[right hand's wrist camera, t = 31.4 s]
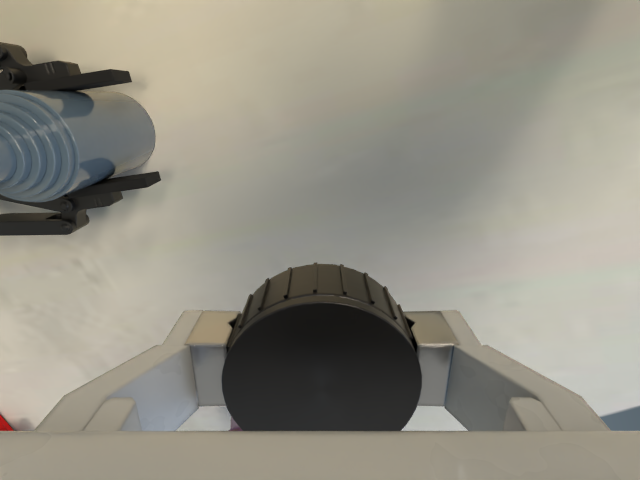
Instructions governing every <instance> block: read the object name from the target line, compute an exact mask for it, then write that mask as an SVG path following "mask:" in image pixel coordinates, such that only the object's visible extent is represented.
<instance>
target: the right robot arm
mask: <svg viewBox="0 0 640 480" xmlns="http://www.w3.org/2000/svg"><path fill="white" fill-rule="evenodd" d="M239 313H240V314H241V312H240V311H203V310H193V311H184V312H183V313H182V315H181V316H180V318H179V319H178V321H177V322H176V324H175V326H174V327H173V329H172V330H171V332H170V333H169V335H168V336H167V338H166V340H165V341H164V343H163V344H162V345H156V346H154V347H152V348H150V349H149V350H147V351H145V352H143V353H141V354H139V355H138V356H136V357H134V358H132V359H130V360H129V361H127V362H125V363H123V364H121V365H119V366H118V367H116V368H114V369H112V370H110V371H108V372H107V373H105V374H103V375H101V376H99V377H97V378H96V379H94V380H92V381H90V382H88V383H86V384H85V385H83V386H81V387H79V388H77V389H76V390H74V391H72V392H70V393H68V394H66V395H65V396H63V398H62V399H61V400H60V401H59V402H58V403H57V405H56V406H55V407H54V408H53V409H52V410H51V412H50V413H49V414H48V415H47V416H46V417H45V418H44V420H43V421H42V422H41V423H40V424H39V425H38V427H37V428H36V429H35V430H34V431H0V480H640V431H611V430H610V429H609V428H608V427H607V426H606V424H605V423H604V422H603V421H602V420H601V419H600V417H599V416H598V415H597V414H596V413H595V412H594V411H593V409H592V408H591V407H590V406H589V405H588V404H587V402H586V401H585V400H584V399H583V398H582V397H581V396H580V395H578V394H576V393H574V392H572V391H570V390H569V389H567V388H565V387H563V386H561V385H559V384H558V383H556V382H554V381H552V380H550V379H548V378H547V377H545V376H543V375H541V374H539V373H537V372H535V371H534V370H532V369H530V368H528V367H526V366H524V365H523V364H521V363H519V362H517V361H515V360H513V359H512V358H510V357H508V356H506V355H504V354H502V353H501V352H499V351H497V350H495V349H493V348H491V347H490V346H488V345H481V343H480V342H479V340H478V339H477V337H476V336H475V334H474V333H473V331H472V330H471V328H470V327H469V325H468V324H467V322H466V321H465V319H464V318H463V316H462V315H461V313H460V312H459V311H457V310H449V311H414V312H403V314H404V316H405V319H406V322H407V324H408V327H409V329H410V332H411V335H412V337H413V339H411V341H412V344H413V346H414V349H415V352H416V354H417V357H418V360H419V363H420V367H421V373H422V389H421V395H420V399H419V402H418V405H417V406H445V409H446V410H447V411H448V412H449V413H451V414H452V415H453V416H454V417H455V418H456V419H457V420H458V421H459V422H460V423H461V424H462V425H463V426H464V427H465V428H466V429H467V430H468V431H175V430H176V429H178V428H179V427H180V426H181V425H182V424H183V423H184V422H185V421H186V420H187V419H188V418H189V417H190V416H191V415H192V414H193V413H194V412H195V411H196V410H197V409H198V408H199V407H198V406H226V403H225V401H224V396H223V392H222V381H221V380H222V370H223V366H224V362H225V359H226V356H227V353H228V351H229V350H228V349H227V345H228V343H229V340H230V337H231V335H232V332H233V329H234V326H235V324H236V321H237V318H238V316H239Z"/></svg>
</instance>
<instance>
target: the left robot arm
mask: <svg viewBox="0 0 640 480" xmlns="http://www.w3.org/2000/svg"><path fill="white" fill-rule="evenodd" d="M2 69H3V71H2V72H1V73H0V90H51V91H78V90H84V89H91V88H97V87H103V86H110V85H116V84H122V83H128V82H132V81H131V77H130V74H129V72H128V71H120V70H113V69H109V70H103V71H97V72H90V73H84V74H81V72H80V69H79V66H78V64H75V63H71V62H64V61H54V62H48V63H42V64H36V65H32V64H31V63H30V62H29V61H28V59H27V53H26V51H25V49H24V48H22V47H21V46H18V45H13V44H7V43H1V42H0V70H2ZM160 180H161V178H160V175H159V172H152V173H145V174H138V175H131V176H124V177H117V178H110V179H105V180H103V181H100V182H98V183H95V184H92V185H90V186H87V187H85V188H82V189H80V190H77V191H75V192H72V193H69V194H67V195H64V196H62V197H59V198H57V199H54V200H51V201H46V202H26V201H19V200H14V199H11V198H8V197H6V196H3V195H1V194H0V199H1V200H6V201H10V202H15V203H20V204H25V205H30V206H35V207H39V208H44V209H49V210H54V211H59V212H61V213H8V214H0V236H1V235H67V234H71V233H72V232H74V231H76V230H78V229H80V228H82V227H83V226H85V225H87V224H88V223H89V217H88V216H87V215H86V209H90V208H97V207H105V206H110V205H112V204H114V203H116V202H118V201H119V200H121V199H123V197H122V194H121V191H125V190H132V189H139V188H146V187H149V186H151V185H153V184H155V183H157V182H159V181H160Z"/></svg>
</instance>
